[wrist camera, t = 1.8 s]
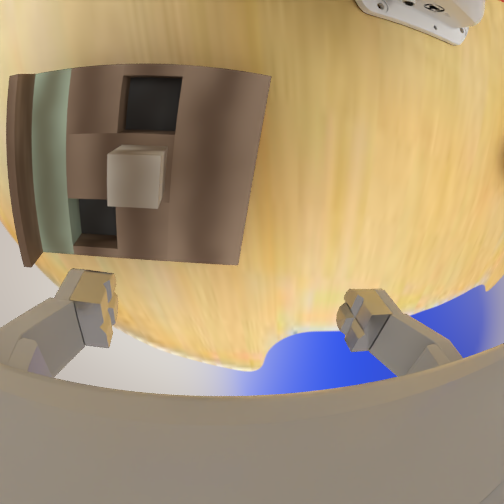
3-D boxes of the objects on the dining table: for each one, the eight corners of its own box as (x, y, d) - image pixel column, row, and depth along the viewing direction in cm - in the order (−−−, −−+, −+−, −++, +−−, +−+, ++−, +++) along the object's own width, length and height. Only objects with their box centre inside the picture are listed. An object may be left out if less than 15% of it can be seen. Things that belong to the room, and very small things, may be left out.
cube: (167, 146, 22) (161, 155, 18) (164, 191, 24) (157, 208, 20) (121, 144, 21) (107, 154, 18) (120, 189, 23) (107, 206, 19)
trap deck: (264, 78, 23) (280, 73, 18) (234, 250, 31) (241, 283, 26) (42, 76, 18) (9, 76, 13) (47, 237, 27) (24, 266, 21)
